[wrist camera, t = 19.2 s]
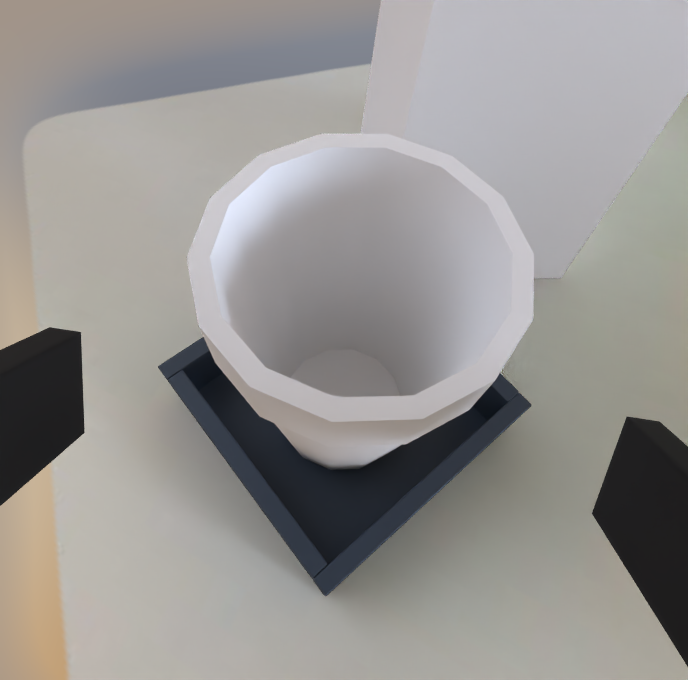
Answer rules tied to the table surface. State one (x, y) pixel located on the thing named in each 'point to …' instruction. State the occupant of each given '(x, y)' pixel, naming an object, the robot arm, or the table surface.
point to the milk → (533, 99)
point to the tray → (340, 484)
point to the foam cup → (360, 291)
